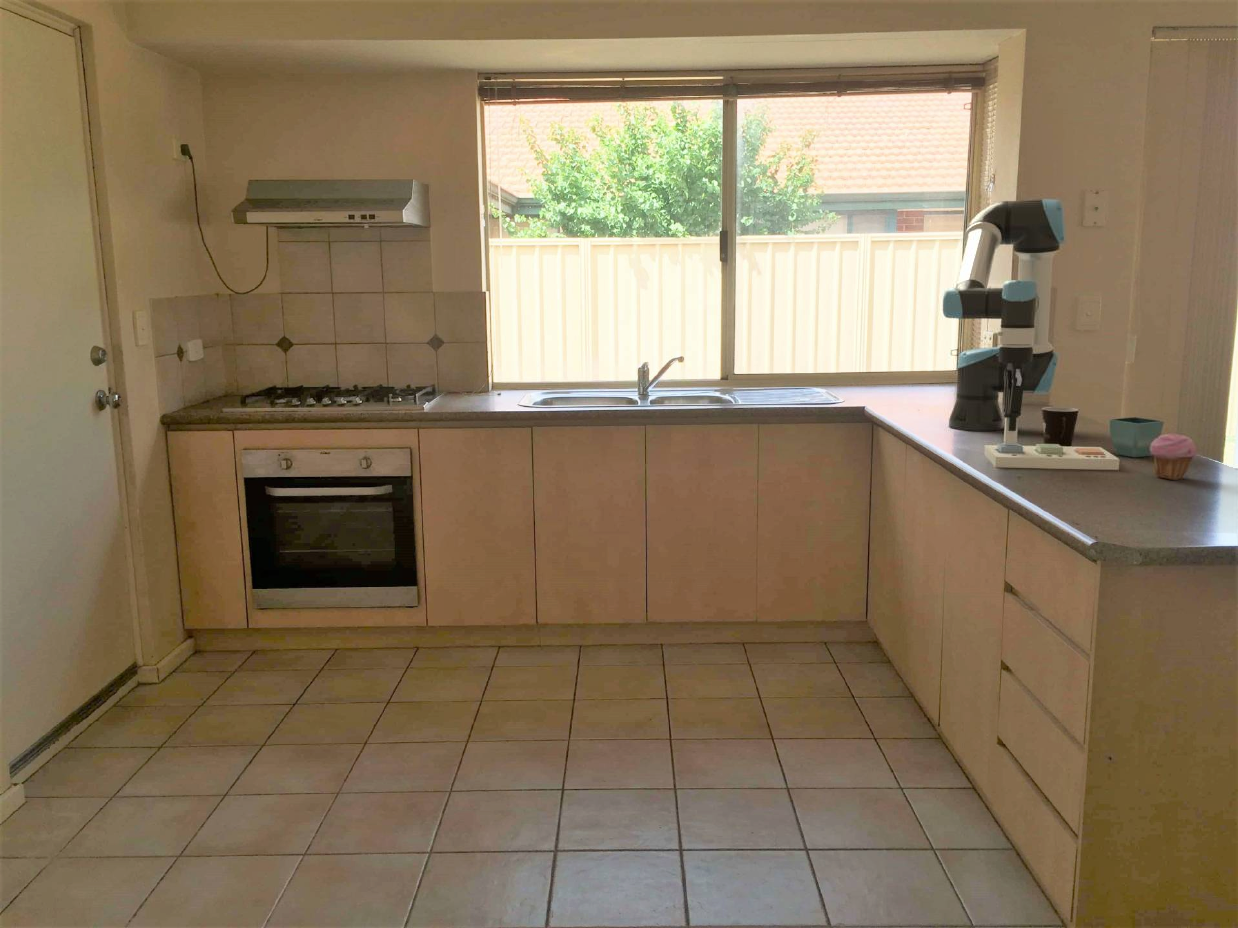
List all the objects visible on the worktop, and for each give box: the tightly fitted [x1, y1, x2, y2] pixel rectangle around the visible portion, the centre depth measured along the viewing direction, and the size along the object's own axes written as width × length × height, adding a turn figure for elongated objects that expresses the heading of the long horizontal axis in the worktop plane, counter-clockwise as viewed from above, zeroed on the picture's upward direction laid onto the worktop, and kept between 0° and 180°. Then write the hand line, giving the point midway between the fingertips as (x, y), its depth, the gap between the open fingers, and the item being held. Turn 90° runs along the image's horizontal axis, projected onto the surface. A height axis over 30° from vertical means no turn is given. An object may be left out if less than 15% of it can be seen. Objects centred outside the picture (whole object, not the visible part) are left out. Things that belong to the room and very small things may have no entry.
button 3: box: [1075, 448, 1104, 455], centre depth 235 cm, size 5×5×3 cm
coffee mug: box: [1041, 406, 1079, 447], centre depth 254 cm, size 12×9×10 cm
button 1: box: [996, 442, 1023, 454], centre depth 238 cm, size 5×5×3 cm
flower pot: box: [1108, 416, 1165, 459], centre depth 242 cm, size 9×9×9 cm
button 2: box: [1035, 443, 1063, 454], centre depth 236 cm, size 5×5×3 cm
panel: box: [983, 444, 1120, 471], centre depth 237 cm, size 16×27×3 cm, turn 79°
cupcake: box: [1150, 433, 1197, 481], centre depth 216 cm, size 9×9×10 cm
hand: (1010, 443), depth 238 cm, fingers closed
